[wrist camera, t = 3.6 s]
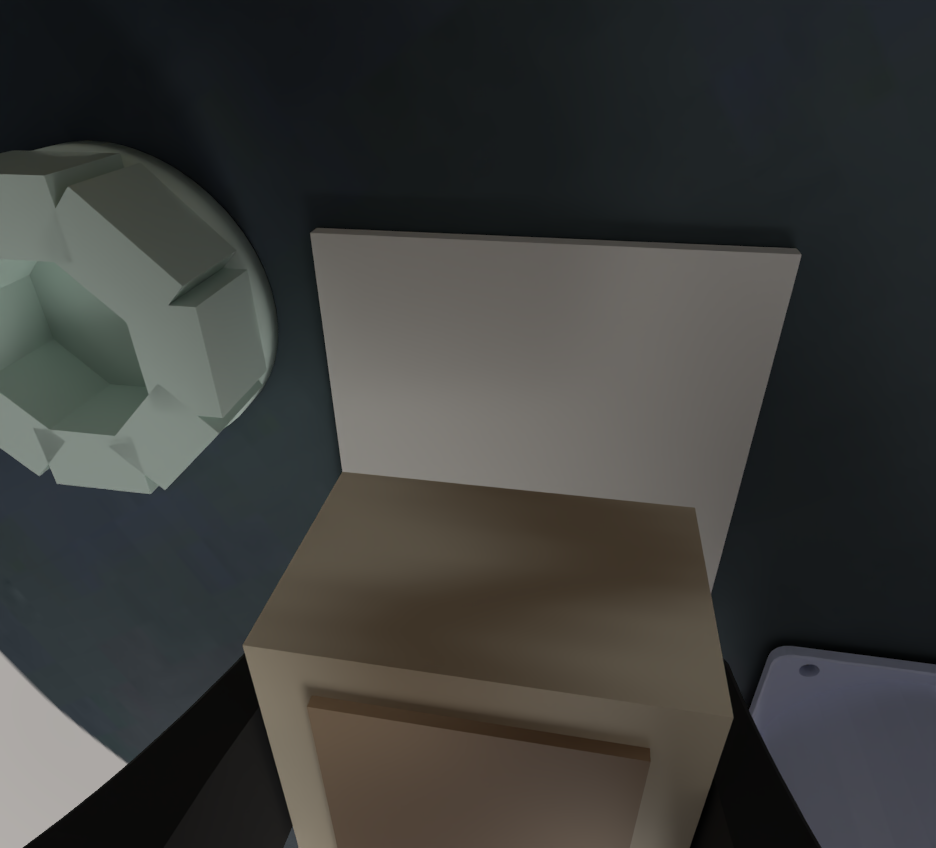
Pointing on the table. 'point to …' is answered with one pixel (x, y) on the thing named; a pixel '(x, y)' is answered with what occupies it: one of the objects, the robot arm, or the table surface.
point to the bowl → (122, 316)
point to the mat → (553, 362)
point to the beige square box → (492, 670)
